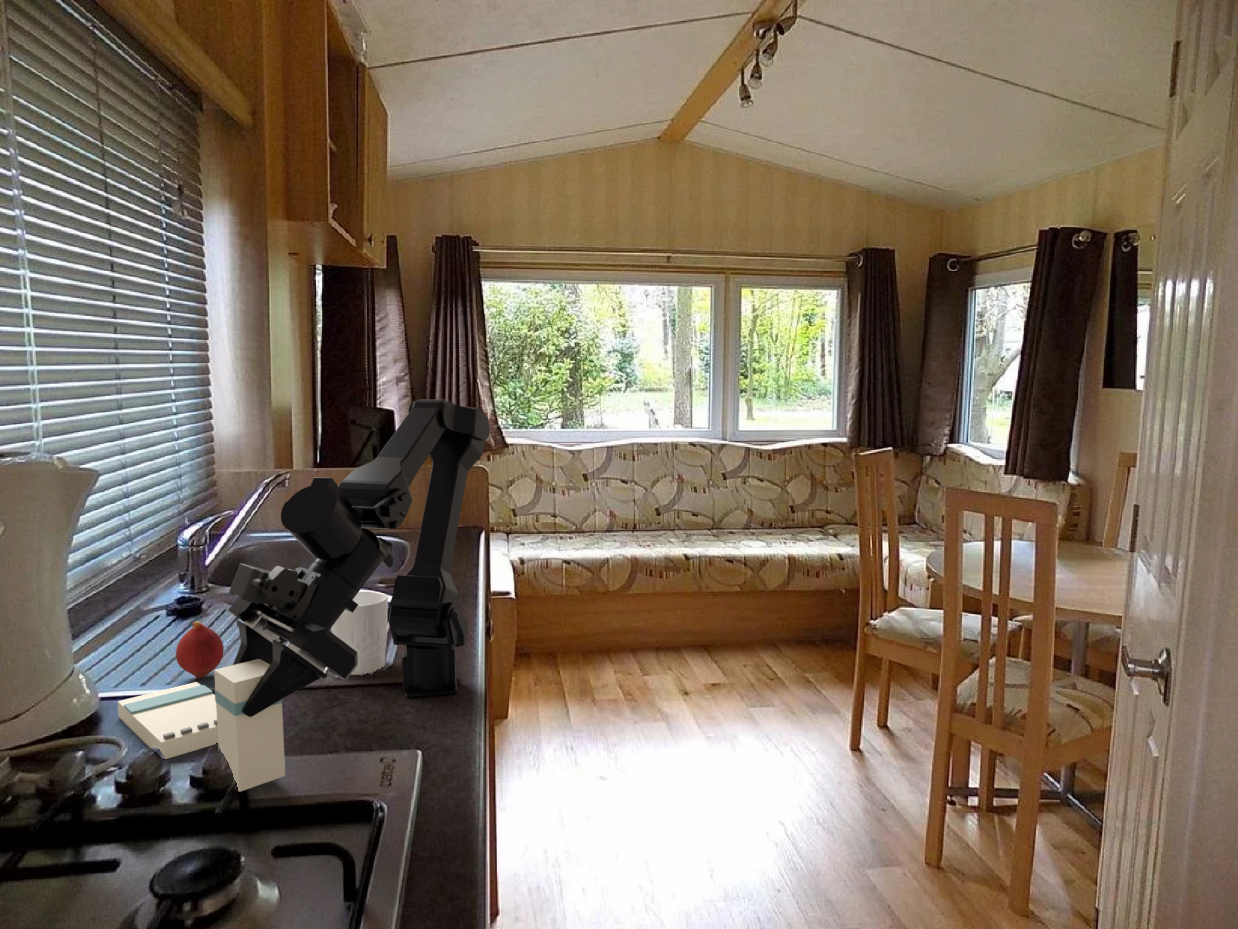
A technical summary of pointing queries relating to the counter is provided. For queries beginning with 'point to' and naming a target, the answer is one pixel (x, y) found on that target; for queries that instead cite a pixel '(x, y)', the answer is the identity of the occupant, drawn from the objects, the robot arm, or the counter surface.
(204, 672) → the onion
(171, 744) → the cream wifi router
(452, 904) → the counter surface
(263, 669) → the cream box
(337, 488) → the robot arm
